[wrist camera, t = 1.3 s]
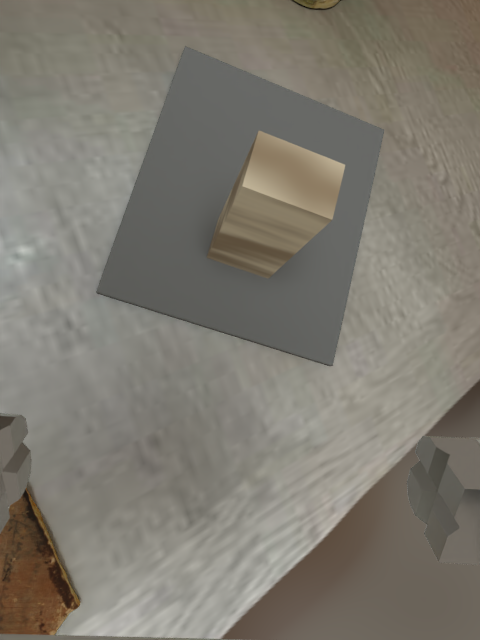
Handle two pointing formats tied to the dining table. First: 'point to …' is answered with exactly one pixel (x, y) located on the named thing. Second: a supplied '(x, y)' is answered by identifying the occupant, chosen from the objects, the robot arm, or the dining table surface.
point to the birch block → (275, 206)
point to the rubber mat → (208, 202)
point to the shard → (31, 575)
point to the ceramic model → (318, 3)
